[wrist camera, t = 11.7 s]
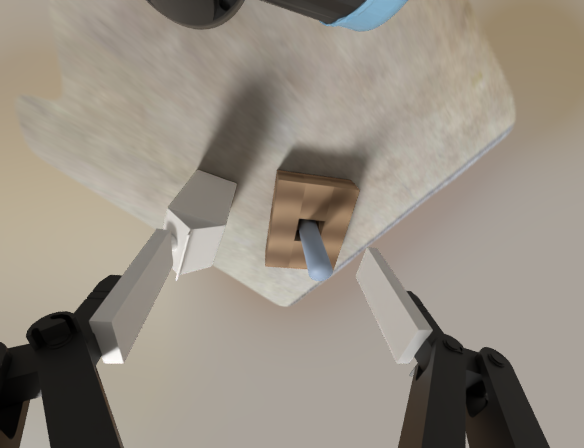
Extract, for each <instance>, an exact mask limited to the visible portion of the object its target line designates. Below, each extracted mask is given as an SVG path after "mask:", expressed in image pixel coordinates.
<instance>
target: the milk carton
mask: <svg viewBox="0 0 584 448" xmlns="http://www.w3.org/2000/svg"><path fill="white" fill-rule="evenodd" d="M236 186H237V183H234V182H231V181H229V180H226V179H223V178H220V177H217V176H214V175H212V174H209V173H206V172H203V171H200V170H196V172H195V173H194V174H193V175H192V177H191V178H190V179H189V181H188V182H187V183H186V184H185V186H184V187H183V188H182V190H181V191H180V192H179V193H178V195H177V196H176V197H175V199H174V200H173V201H172V202H171V204H170V205H169V206H168V208H167V211H166V215H165V220H164V225H163V229H165V230H170V234H171V245H172V256H173V266H172V269H173V270H174V271H175V272H176V273H177V276H176V279H175V280H176V281H177V280H178V278H179V275H182V274H185V273H189V272H193V271H196V270H200V269H204V268H207V267H211V266H212V264H213V262H214V259H215V256H216V253H217V250H218V247H219V244H220V241H221V239H222V236H223V233H224V230H225V227H226V223H227V219H228V216H229V212H230V208H231V205H232V201H233V197H234V194H235V190H236Z"/></svg>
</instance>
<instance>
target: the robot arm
mask: <svg viewBox="0 0 584 448" xmlns="http://www.w3.org/2000/svg"><path fill="white" fill-rule="evenodd" d="M146 1H147V2H148V3H149V4H150V5H151V6H152V7H154V8H155V9H156V10H157V11H159V12H160V13H161V14H163V15H164V16H166V17H167V18H169V19H170V20H172V21H174V22H175V23H177V24H180V25H182V26H185V27H188V28H193V29H210V28H214V27H217V26H220V25H222V24H224V23H225V22H227V21H228V20H229V19H231V18H232V17H233V16H234V15H235V14H236V12H237V11H238V10H239V9H240V7H241V5H242V4H243V2H244V0H146ZM261 1H264V2H267V3H270V4H272V5H275V6H278V7H281V8H284V9H287V10H290V11H293V12H296V13H299V14H302V15H305V16H307V17H310V18H313V19H316V20H319V21H320V22H321V23H322V24H324V25H326V26H332V27H334V26H341V27H344V28H348V29H352V30H355V31H369V30H372V29H374V28H376V27H378V26H380V25H382V24H383V23H385V22H386V21H387V20H389V19H390V18H391V17H392V16H393V15H395V14H396V13H397V12H398V11H399V10H400V9H401V8H402V7H403V5H404V4H405V3H406V2H407V1H408V0H261ZM172 266H173V256H172V245H171V234H170V230H165V229H156V231H155V232H154V233H153V235H152V236H151V238H150V239H149V240H148V242H147V243H146V244H145V246H144V247H143V248H142V250H141V251H140V252H139V254H138V255H137V256H136V258H135V259H134V260H133V262H132V263H131V265H130V266H129V267H128V269H127V270H126V271H125V273H124V274H123V275H122V276H120V275H109V276H108V277H106V278H105V279H103V280H102V281H100V282H99V283H98V285H97V286H96V287H95V288H94V290H93V292H91V293H90V294H89V296H88V297H87V299H85V300H84V302H83V303H82V304H81V305H80V307H79V308H78V309H77V310H76V311H75V312H74V314H73V313H71V312H67V311H65V312H56V313H52V314H49V315H47V316H45V317H43V318H41V319H39V320H38V321H36V322H35V323H34V324H32V325H31V327H30V328H29V329H28V331H27V334H26V338H27V340H28V341H29V343H30V344H26V345H21V346H16V347H12V348H7V347H6V346H5V345H4V344H3V343H2V342H0V448H19V447H20V442H21V438H22V434H23V429H24V425H25V420H26V416H27V412H28V407H29V403H30V399H34V398H37V397H40V396H42V400H43V405H44V411H45V417H46V423H47V429H48V435H49V441H50V447H51V448H124V447H123V444H122V441H121V438H120V435H119V432H118V429H117V426H116V423H115V420H114V417H113V415H112V412H111V409H110V406H109V403H108V400H107V397H106V394H105V391H104V389H103V385H102V382H101V379H100V377H99V374H98V371H97V368H96V364H97V362H98V361H99V359H100V357H101V356H102V358H103V361H104V363H124V362H125V360H126V358H127V356H128V354H129V352H130V350H131V348H132V346H133V344H134V342H135V340H136V338H137V336H138V334H139V332H140V330H141V328H142V326H143V324H144V322H145V320H146V318H147V316H148V314H149V312H150V310H151V308H152V306H153V304H154V302H155V300H156V298H157V296H158V294H159V292H160V290H161V288H162V286H163V284H164V282H165V280H166V278H167V276H168V274H169V272H170V270H171V268H172ZM356 278H357V280H358V282H359V285H360V287H361V289H362V291H363V293H364V295H365V297H366V300H367V301H368V304H369V306H370V308H371V310H372V312H373V314H374V316H375V319H376V321H377V323H378V325H379V327H380V329H381V331H382V334H383V336H384V338H385V340H386V342H387V344H388V346H389V349H390V351H391V353H392V355H393V357H394V359H395V361H396V363H410V362H411V360H412V359H413V358H414V357H415V358H416V360H417V362H418V364H417V365H416V366H415V368H414V369H413V370H412V372H411V373H410V376H412V375H413V374H414V375H413V381H412V385H411V389H410V394H409V400H408V403H407V408H406V413H405V418H404V422H403V427H402V431H401V436H400V441H399V445H398V448H465V437H466V435H465V434H467V439H468V443H469V448H550V447H549V445H548V443H547V440H546V438H545V436H544V434H543V432H542V430H541V428H540V426H539V423H538V421H537V419H536V417H535V415H534V412H533V410H532V408H531V406H530V404H529V402H528V400H527V398H526V395H525V393H524V391H523V389H522V387H521V385H520V383H519V380H518V378H517V376H516V374H515V372H514V369H513V367H512V365H511V364H510V362H509V361H508V360H507V359H506V358H505V357H504V356H503V355H502V354H500V353H499V352H497V351H496V350H494V349H492V348H488V347H484V348H482V349H481V350H480V352H475V351H472V350H469V349H466V348H463V346H462V345H461V344H460V343H459V342H458V341H457V340H456V339H454V338H453V337H451V336H449V335H446V334H444V333H443V332H442V330H441V329H440V328H439V326H438V325H437V323H436V322H435V321H434V319H433V318H432V316H431V315H430V314H429V312H428V311H427V309H426V308H425V307H424V306H423V304H422V302H421V301H420V299H419V298H418V297H417V296H416V295H414V294H413V293H412V292H411V291H406V290H405V289H404V287H403V286H402V284H401V283H400V281H399V280H398V278H397V277H396V275H395V274H394V272H393V271H392V269H391V268H390V266H389V265H388V263H387V262H386V261H385V259H384V258H383V256H382V255H381V253H380V252H379V250H378V249H377V248H370V247H367V249H366V252H365V254H364V257H363V260H362V262H361V264H360V267H359V269H358V272H357V274H356Z"/></svg>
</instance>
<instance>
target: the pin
mask: <svg viewBox="0 0 584 448" xmlns="http://www.w3.org/2000/svg"><path fill="white" fill-rule="evenodd" d="M298 229H299V233H300V238H301V242H302V246H303V251H304V255H305V259H306V264H307V268H308V273H309V276H310V278H311V279H313V280H315V281H323V280H326V279H328V278H329V277H330V276H331V275H332V272H333V268H332V266H331V263H330V260H329V257H328V255H327V252H326V249H325V246H324V244H323V241H322V238H321V235H320V233H319V230H318V227H317V224H316V221H315V220H309V219H300V218H299V220H298Z"/></svg>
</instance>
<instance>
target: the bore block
mask: <svg viewBox="0 0 584 448" xmlns="http://www.w3.org/2000/svg"><path fill="white" fill-rule="evenodd" d="M359 192H360V190H359V189H358V188H357V186H356V185H355V184H354V183H353V182H352V181H351V180H347V179H339V178H332V177H325V176H318V175H310V174H303V173H296V172H289V171H281V170H277V174H276V181H275V188H274V195H273V202H272V208H271V215H270V222H269V229H268V236H267V243H266V250H265V266H267V267H281V268H296V269H308V268H307V264H306V259H305V255H304V251H303V246H302V242H301V238H300V233H299V229H298V220H299V218H300V219H309V220H315V221H316V224H317V227H318V230H319V233H320V235H321V238H322V241H323V244H324V246H325V249H326V252H327V255H328V257H329V260H330V263H331V266H332V268H333V270H334V267H335V264H336V261H337V258H338V255H339V252H340V249H341V246H342V243H343V240H344V237H345V234H346V231H347V228H348V225H349V222H350V219H351V216H352V213H353V210H354V207H355V204H356V201H357V198H358V195H359Z"/></svg>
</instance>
